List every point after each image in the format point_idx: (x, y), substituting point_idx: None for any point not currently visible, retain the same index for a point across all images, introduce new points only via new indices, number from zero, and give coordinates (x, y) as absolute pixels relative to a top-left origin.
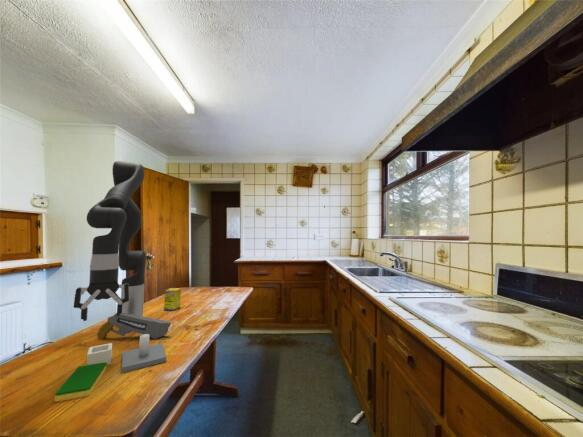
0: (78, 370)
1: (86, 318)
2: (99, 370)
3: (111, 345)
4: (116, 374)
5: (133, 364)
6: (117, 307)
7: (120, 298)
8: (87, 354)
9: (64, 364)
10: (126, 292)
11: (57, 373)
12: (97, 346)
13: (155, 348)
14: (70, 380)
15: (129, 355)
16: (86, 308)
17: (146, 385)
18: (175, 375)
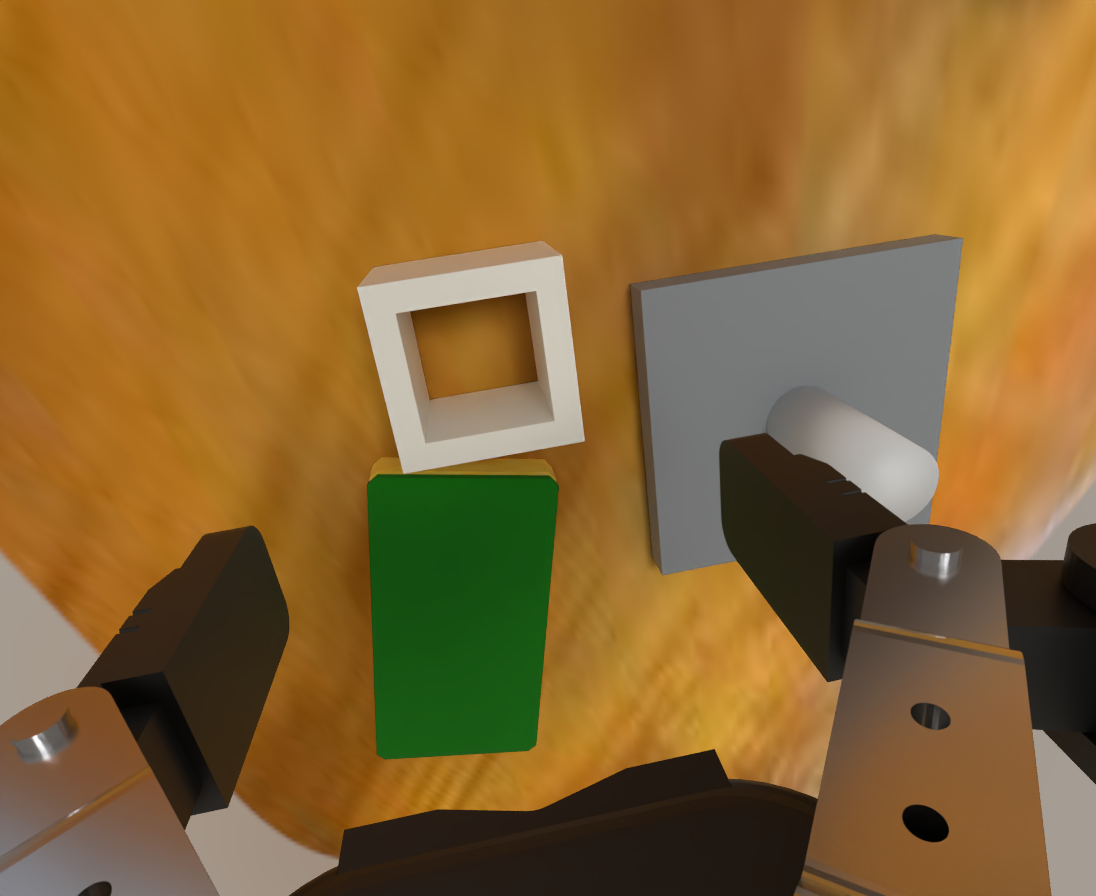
0: (395, 552)
1: (274, 622)
2: (537, 595)
3: (567, 330)
4: (625, 562)
5: (729, 555)
6: (805, 640)
7: (999, 639)
8: (404, 469)
9: (174, 246)
10: None
11: (212, 408)
12: (433, 300)
13: (893, 335)
14: (399, 660)
15: (700, 397)
16: (188, 760)
17: (776, 713)
18: None
